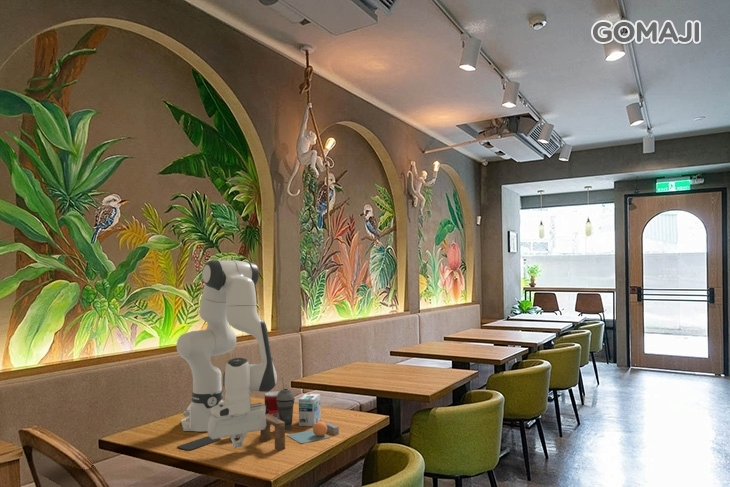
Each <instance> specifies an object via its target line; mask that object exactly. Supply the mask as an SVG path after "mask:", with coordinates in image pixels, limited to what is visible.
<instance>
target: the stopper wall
mask: <svg viewBox="0 0 730 487" xmlns="http://www.w3.org/2000/svg"><path fill="white" fill-rule="evenodd" d="M324 423H325V424H326V425H327V432H326V433H329V434H332V435H334V436H335V435H339V432H340V431H339V430H340V429H339V426H337V425H335V424H332V423H330V422H324Z"/></svg>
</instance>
